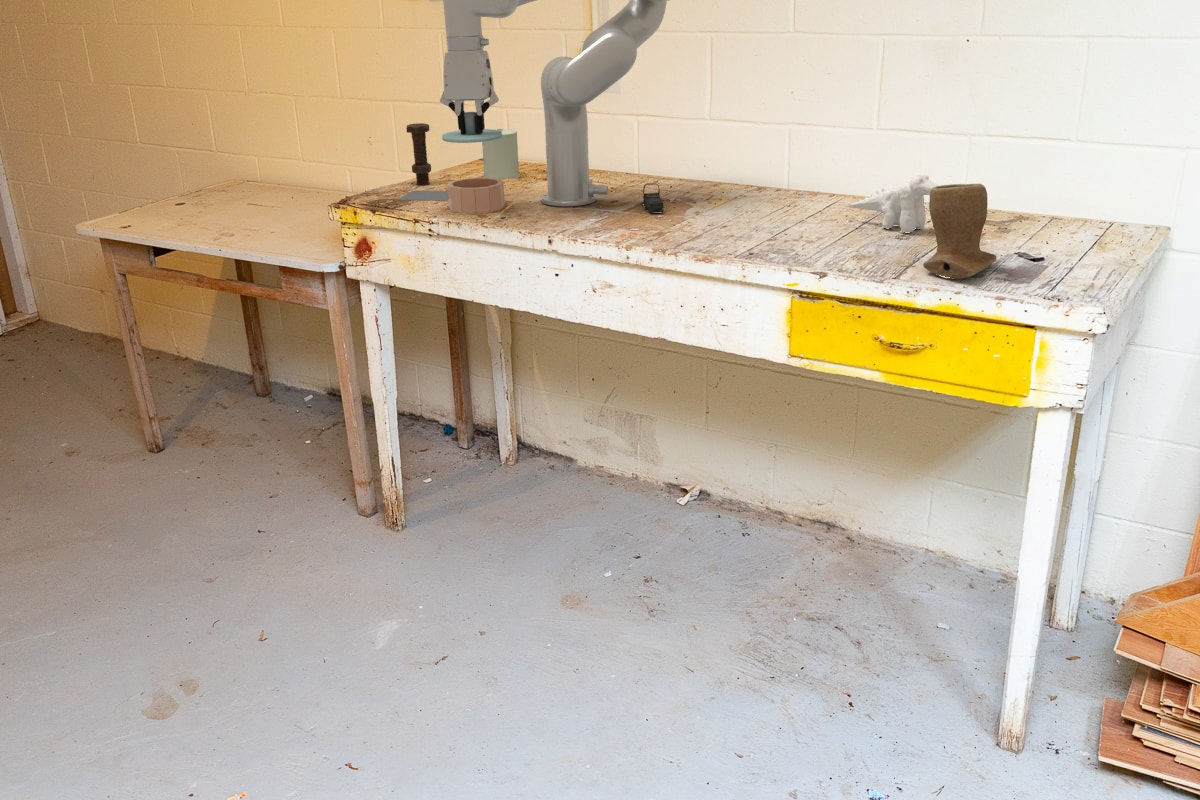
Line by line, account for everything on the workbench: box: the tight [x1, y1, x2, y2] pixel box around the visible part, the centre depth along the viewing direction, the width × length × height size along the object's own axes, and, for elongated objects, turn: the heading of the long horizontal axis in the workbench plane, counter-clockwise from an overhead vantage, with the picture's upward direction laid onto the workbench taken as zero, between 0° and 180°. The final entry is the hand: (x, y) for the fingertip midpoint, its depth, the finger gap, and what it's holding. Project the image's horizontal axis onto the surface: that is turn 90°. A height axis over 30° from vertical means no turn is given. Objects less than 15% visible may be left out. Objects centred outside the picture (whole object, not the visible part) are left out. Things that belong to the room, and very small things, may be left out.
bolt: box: [405, 122, 432, 186], centre depth 257 cm, size 6×5×15 cm
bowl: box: [446, 177, 506, 215], centre depth 234 cm, size 12×12×6 cm
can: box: [481, 128, 521, 180], centre depth 266 cm, size 9×9×12 cm
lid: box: [441, 111, 502, 144], centre depth 228 cm, size 13×13×5 cm
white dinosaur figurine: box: [844, 174, 940, 233], centre depth 208 cm, size 7×24×11 cm, turn 45°
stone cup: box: [922, 183, 997, 280], centre depth 180 cm, size 15×12×15 cm
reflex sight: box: [641, 182, 664, 213], centre depth 230 cm, size 4×10×5 cm, turn 4°
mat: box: [397, 190, 449, 202], centre depth 247 cm, size 12×10×1 cm
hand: (471, 132), depth 228 cm, fingers closed on lid, 2 cm apart
